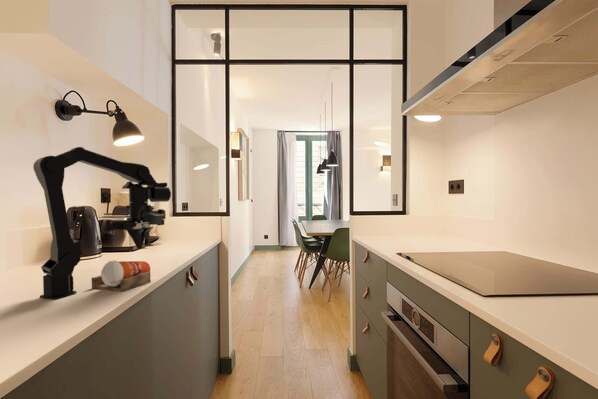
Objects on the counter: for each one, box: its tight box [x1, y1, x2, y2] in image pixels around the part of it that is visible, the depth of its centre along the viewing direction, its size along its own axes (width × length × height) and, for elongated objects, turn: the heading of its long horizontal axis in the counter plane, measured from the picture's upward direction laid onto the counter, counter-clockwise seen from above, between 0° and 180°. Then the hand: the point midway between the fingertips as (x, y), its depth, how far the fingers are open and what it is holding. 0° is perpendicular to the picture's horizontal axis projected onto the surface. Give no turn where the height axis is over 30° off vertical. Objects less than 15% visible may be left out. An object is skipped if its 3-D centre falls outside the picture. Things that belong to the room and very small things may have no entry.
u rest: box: [91, 271, 151, 292], centre depth 110 cm, size 11×12×3 cm
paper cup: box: [100, 260, 151, 286], centre depth 111 cm, size 8×8×14 cm
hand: (139, 248), depth 118 cm, fingers closed
